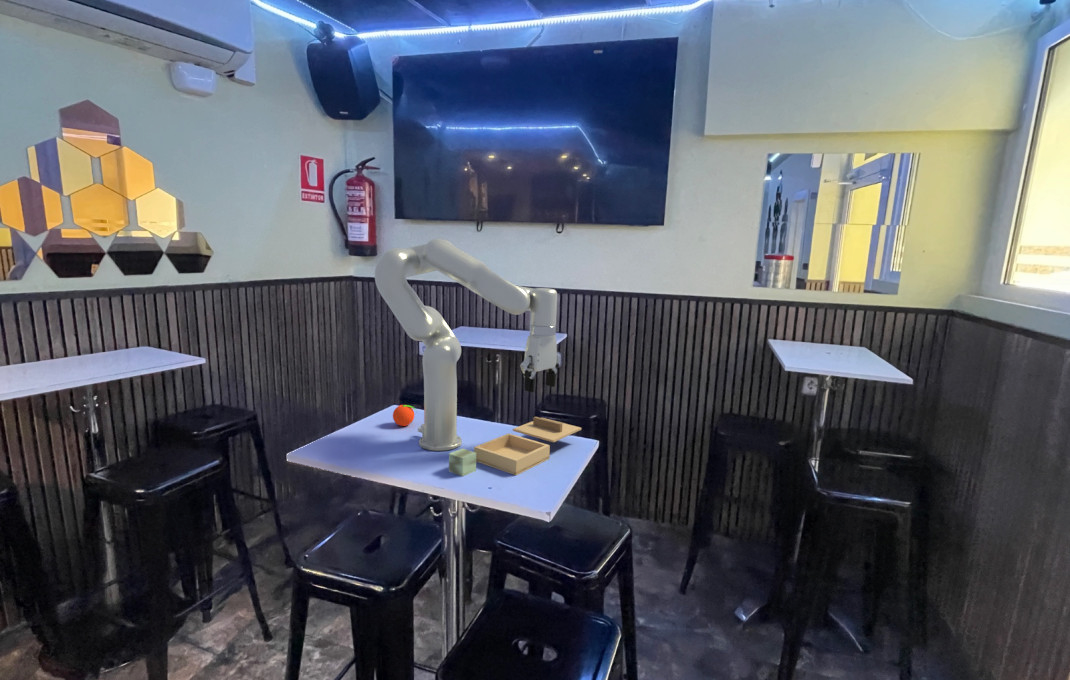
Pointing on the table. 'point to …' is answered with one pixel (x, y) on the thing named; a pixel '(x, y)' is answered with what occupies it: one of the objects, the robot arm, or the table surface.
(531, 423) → the mailer lid
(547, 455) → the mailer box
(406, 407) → the clementine
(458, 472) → the green block
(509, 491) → the table surface
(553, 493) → the table surface
